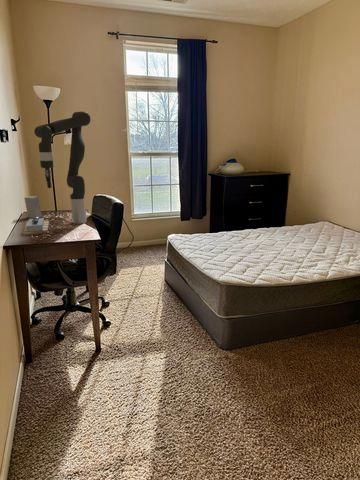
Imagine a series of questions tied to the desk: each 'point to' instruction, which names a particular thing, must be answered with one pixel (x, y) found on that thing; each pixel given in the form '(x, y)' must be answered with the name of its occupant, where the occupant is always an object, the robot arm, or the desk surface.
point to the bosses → (35, 220)
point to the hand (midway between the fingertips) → (49, 187)
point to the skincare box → (33, 206)
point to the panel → (32, 227)
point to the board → (45, 230)
